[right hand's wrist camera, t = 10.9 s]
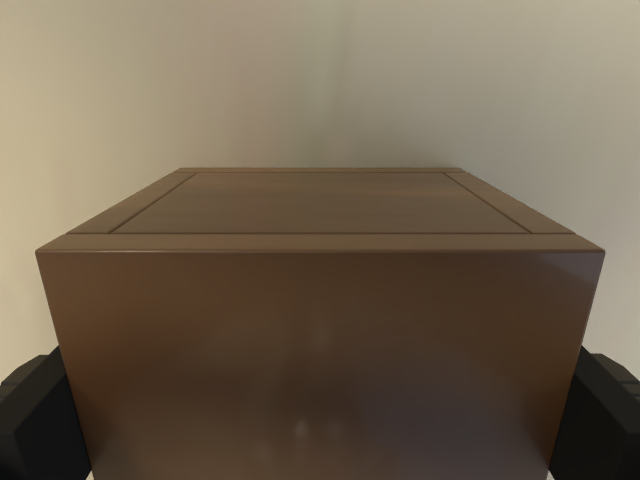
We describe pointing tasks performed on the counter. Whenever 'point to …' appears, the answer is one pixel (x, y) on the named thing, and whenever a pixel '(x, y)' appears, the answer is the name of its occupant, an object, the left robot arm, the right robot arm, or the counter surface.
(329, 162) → the counter surface
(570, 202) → the counter surface
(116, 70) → the counter surface
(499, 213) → the cabinet
